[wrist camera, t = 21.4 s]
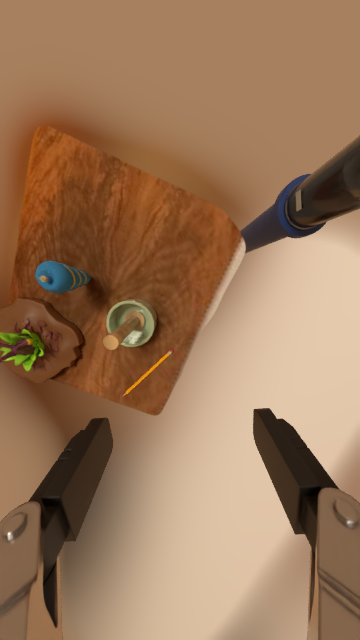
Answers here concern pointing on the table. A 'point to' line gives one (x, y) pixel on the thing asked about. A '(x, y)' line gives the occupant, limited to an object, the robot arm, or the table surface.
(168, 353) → the pencil
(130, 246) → the table surface
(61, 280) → the ornament
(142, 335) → the bowl
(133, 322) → the stick
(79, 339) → the plant
